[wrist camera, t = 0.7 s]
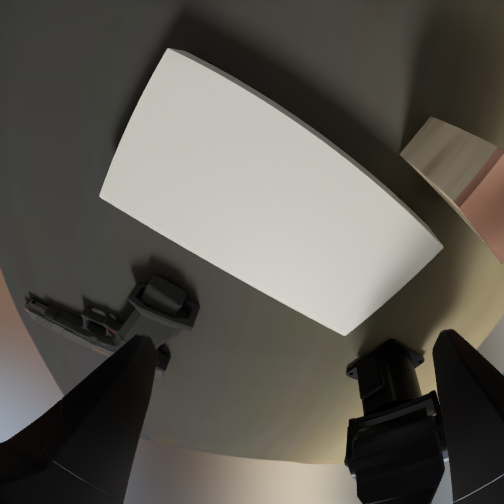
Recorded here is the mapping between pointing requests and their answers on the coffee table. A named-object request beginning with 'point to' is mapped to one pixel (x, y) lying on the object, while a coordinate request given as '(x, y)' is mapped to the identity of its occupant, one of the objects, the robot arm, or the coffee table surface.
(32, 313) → the handgun
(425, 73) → the coffee table surface
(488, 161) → the brown and pink block
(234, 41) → the coffee table surface
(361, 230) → the panel
